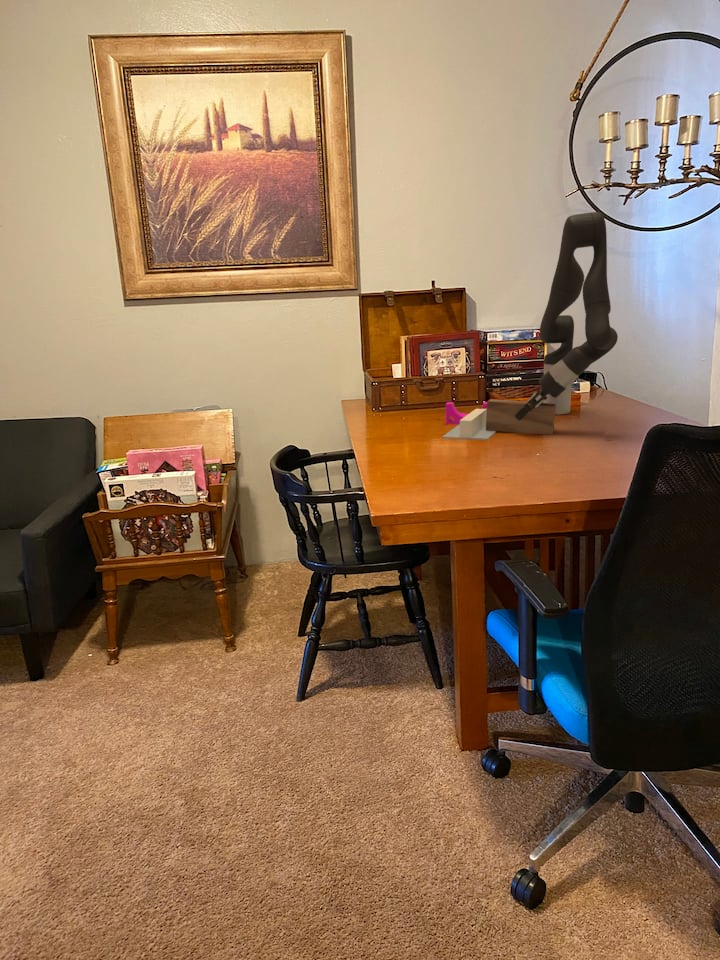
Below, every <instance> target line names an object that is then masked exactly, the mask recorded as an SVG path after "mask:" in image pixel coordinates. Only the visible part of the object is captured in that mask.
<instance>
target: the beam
mask: <svg viewBox="0 0 720 960" xmlns="http://www.w3.org/2000/svg"><path fill="white" fill-rule="evenodd" d="M486 402H487V416H486V430H490V431H497V432H500V433H501V432H503V433H513V434H532V435H533V434H535V435H536V434H537V435H538V434H540V435H552V434H553V433H554V431H555V418H556V414H555V411H556V404H550V403H541V404H540V405H539V406H538V407H537V408H535V409H534V408H533V409H532V410H531V412H529V413H527V414H526V415H525V416H524V417H523V418H522V419H521V420H518V419H517V418H516V417H515V414H517V413H518V412H519V411H520V410H521V409H522V408H523V406H524V405H525V404H527V401H521V400H509V399H508V400H507V399H506V400H505V399H493V398H490V399H488V400H487V401H486ZM528 406H529V407H530V408H532V406H531V405H530V404H528Z"/></svg>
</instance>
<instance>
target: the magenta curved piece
mask: <svg viewBox="0 0 720 960" xmlns="http://www.w3.org/2000/svg"><path fill="white" fill-rule="evenodd" d="M481 409H487V401H484V402H483V404H482V407H481ZM468 414H469V413H465V412H462V413H461V412H460V411H458V409H457V408H456V406H455V403H454V402H453V401H448V402H446V403H445V426H446V425H447V426H448V425H459V424H460V420H461V419H462V418H464V417H465V416H467V415H468ZM451 418H453V419H451Z"/></svg>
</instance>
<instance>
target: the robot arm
mask: <svg viewBox="0 0 720 960" xmlns="http://www.w3.org/2000/svg"><path fill="white" fill-rule="evenodd" d="M607 242H608V241H607V225H606V220H605V216H604V215H603V213H602V212H599V211H594V212H585V213H578V214H572V215H570V216H567V218H566V220H565V222H564V225H563V229H562V236H561V241H560V249H559V255H558V260H557V263H556V264H557V265H556V267H555V271H554V276H553V279H552V282H551V286H550V287H551V288H550V291H549V296H548V301H547V305H546V307H545V311H544V314H543V316H542V319H541V322H540V327H539V338H540V340H541V342H542V343H544V344H560V346H559V347H558V348H557V349H555V350H553V351H552V352H549V353H547V354H545V355H544V357H543V376H541V378H539V380H538V383H539V385H540V386H541V387H542V388H541V389H540V388H538V389H536V390H535V391H534V392H533V393H532V395H531V396H530V397H529V398H528V399H527V401H526V402H527V404H525V405H524V406H523V408H522V409H521V410H520V411H519V412H518V413H517V414H515V417H516V418H517V419H518V420H521V419H522V418H523V417H524V416H525V415H526V414H527V413H529V412H531V410H532V409H533V408H534V409H535V408H537V407H538V406H539V405H540V404H541V403H550V404H556V411H555V415H567V414H570V413H571V405H572V404H571V399H572V398H571V397H572V396H571V395H572V394H571V393H572V385H573V383H574V382H575V381H576V380H577V379H578V377H579V376H580V375H582V374H583V373H584V372H585V371H586V370H587V369H588V368H589V367H590V366H591V365H592V364H593V363H595V362H597V361H598V360H600V359H601V358H602V357H604V356H605V355H606V354H607V353H609V352H611V350H612V349H613V348H614V347H615V346H616V344H617V342H618V338H619V337H618V333H617V331H616V330H615V329H614V328H613V327H611V325H610V313H611V311H612V309H611V307H612V306H611V300H610V294H609V287H608V286H609V285H608V250H607V249H608V243H607ZM589 247H592V248H593V259H592V263H591V264H590V267H589V269H588V272H587V274H586V277H585V274H584V270H583V269H582V267H581V265H580V263H579V262H578V261H577V259H576V257H575V255H574V254H575V251H576V250H577V249H581V248H589ZM581 292H582V300H583V306H584V312H585V320H584V321H585V322H584V323H585V325H584V326H585V327H584V333H585V338H586V341H585V342H584V343H582V344H581V345H579V346H575V347H574V335H575V322H574V318H573V316H572V315H570V314H569V315H567V314H565V315H564V314H563V315H562V313H563V312H565V310H567V309H569V308H570V307H571V306H572V305H573V304H575V302H576V301H577V300H578V299H579V298H580V295H581ZM528 404H530V405H531V406H532V408H530V407H529V406H528Z"/></svg>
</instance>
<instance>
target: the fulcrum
mask: <svg viewBox="0 0 720 960" xmlns="http://www.w3.org/2000/svg"><path fill="white" fill-rule="evenodd" d="M467 414H468V415H467V416H465V417H464V418H462V419H461V420H460V424H457V425H456V426H455V427H454V428H452V429H451V430H449V431H448V432H447V433H446V434H443V436H441V437H442V439H449V440H450V439H453V440H477V441H478V440H479V441H481V440H482V441H488V440H490V438H492V437H493V436H494V435H495V434H496V433H497V432H498V431H490V430H486V416H487V409H482V408H475V409H474V410H472V411H471V412H470V413H467Z"/></svg>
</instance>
